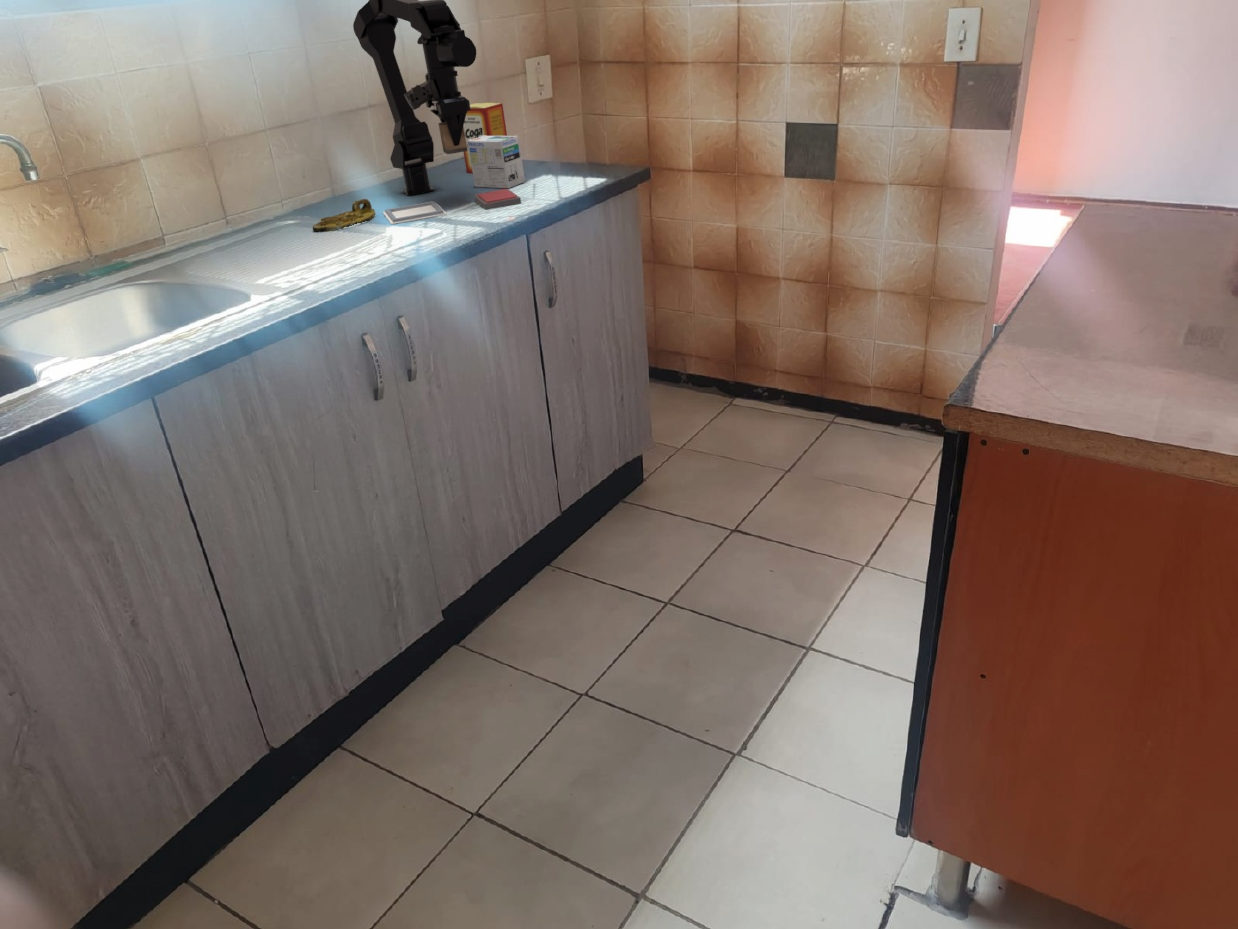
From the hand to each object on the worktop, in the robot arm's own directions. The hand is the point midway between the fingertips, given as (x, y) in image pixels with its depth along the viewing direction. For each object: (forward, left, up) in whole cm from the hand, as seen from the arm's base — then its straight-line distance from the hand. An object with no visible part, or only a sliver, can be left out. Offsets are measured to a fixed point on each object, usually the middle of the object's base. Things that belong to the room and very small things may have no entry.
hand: (454, 143), depth 202 cm
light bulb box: (-10, +11, -13) cm, 20 cm away
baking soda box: (-28, +13, -13) cm, 34 cm away
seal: (+1, -27, -13) cm, 30 cm away
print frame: (+4, -12, -12) cm, 17 cm away
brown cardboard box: (0, 0, -2) cm, 2 cm away
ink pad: (+7, +6, -12) cm, 15 cm away
